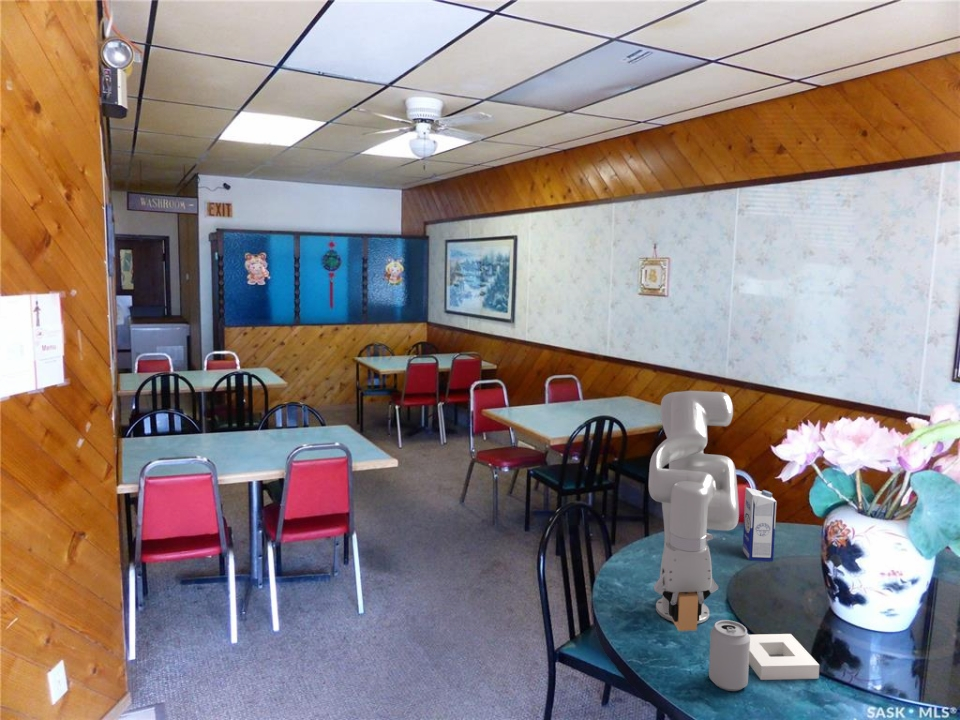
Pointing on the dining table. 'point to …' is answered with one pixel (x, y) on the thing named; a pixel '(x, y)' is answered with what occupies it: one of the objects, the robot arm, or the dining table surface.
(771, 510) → the milk carton
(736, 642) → the can
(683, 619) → the charger
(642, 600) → the dining table surface
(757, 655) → the outlet plate
